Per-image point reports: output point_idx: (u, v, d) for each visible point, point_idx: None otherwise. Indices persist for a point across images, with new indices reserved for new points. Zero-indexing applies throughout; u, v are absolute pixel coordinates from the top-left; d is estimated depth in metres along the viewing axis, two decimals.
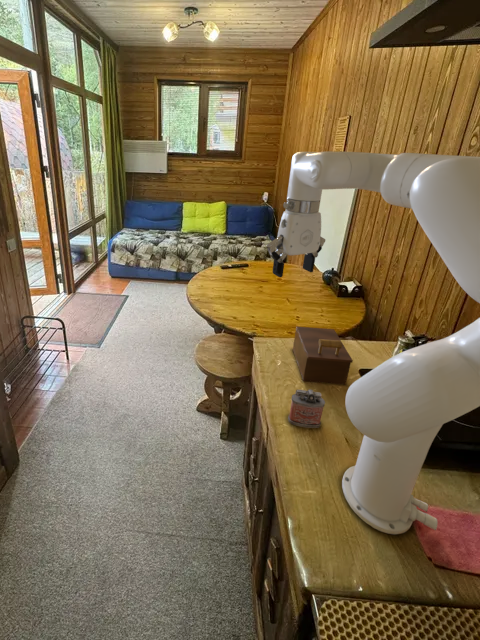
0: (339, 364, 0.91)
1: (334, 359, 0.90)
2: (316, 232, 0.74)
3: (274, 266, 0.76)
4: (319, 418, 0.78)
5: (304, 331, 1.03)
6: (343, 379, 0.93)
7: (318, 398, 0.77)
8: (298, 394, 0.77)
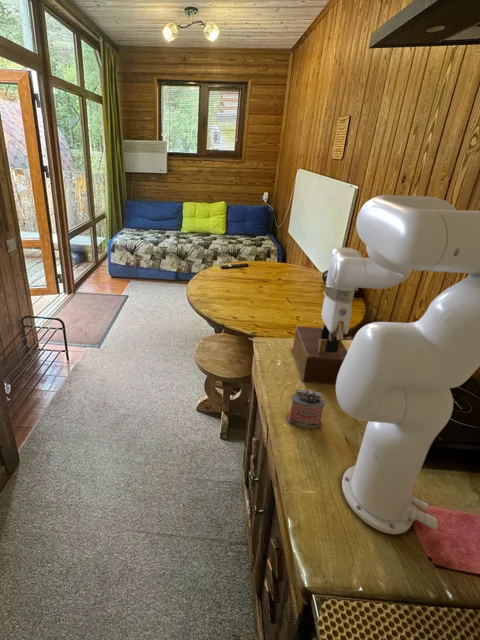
0: (339, 364, 0.91)
1: (334, 359, 0.90)
2: None
3: (332, 346, 0.88)
4: (319, 418, 0.78)
5: (304, 331, 1.03)
6: None
7: (318, 398, 0.77)
8: (298, 394, 0.77)
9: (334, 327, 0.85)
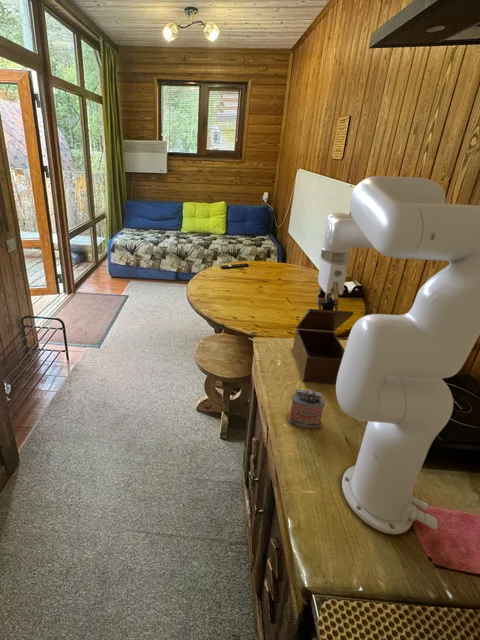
0: (339, 364, 0.91)
1: (335, 311, 0.91)
2: None
3: (328, 308, 0.93)
4: (319, 418, 0.78)
5: None
6: None
7: (318, 398, 0.77)
8: (298, 394, 0.77)
9: (329, 288, 0.90)
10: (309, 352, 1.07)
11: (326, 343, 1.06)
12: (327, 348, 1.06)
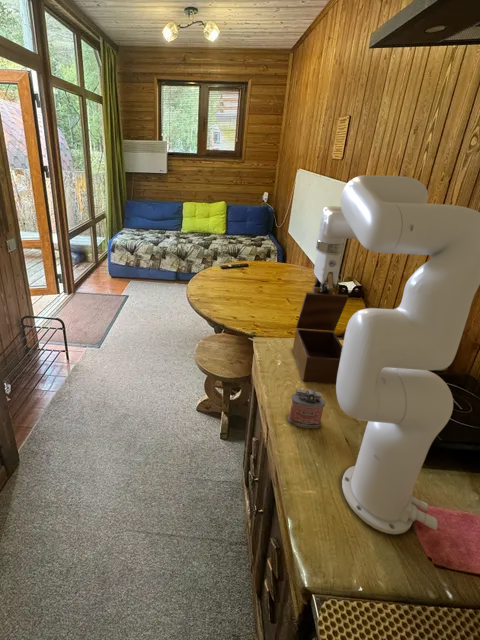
0: None
1: (331, 294, 0.95)
2: None
3: None
4: (319, 418, 0.78)
5: None
6: None
7: (318, 398, 0.77)
8: (298, 394, 0.77)
9: (325, 278, 0.94)
10: (309, 352, 1.07)
11: (326, 343, 1.06)
12: (327, 348, 1.06)
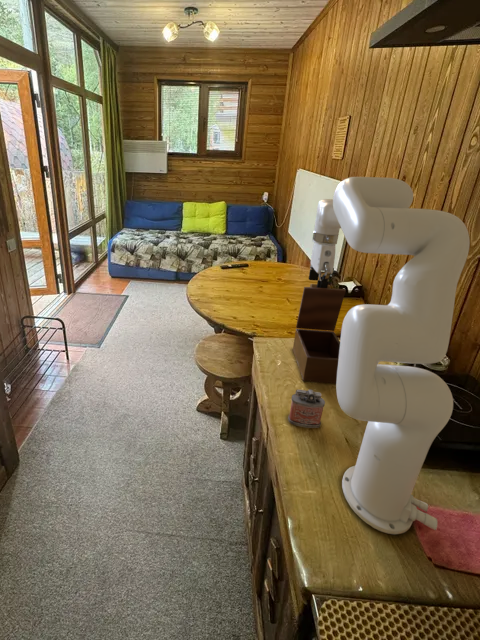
0: None
1: (328, 288, 0.98)
2: None
3: (322, 286, 1.00)
4: (319, 418, 0.78)
5: None
6: None
7: (318, 398, 0.77)
8: (298, 394, 0.77)
9: (321, 267, 0.98)
10: (309, 352, 1.07)
11: (326, 343, 1.06)
12: (327, 348, 1.06)
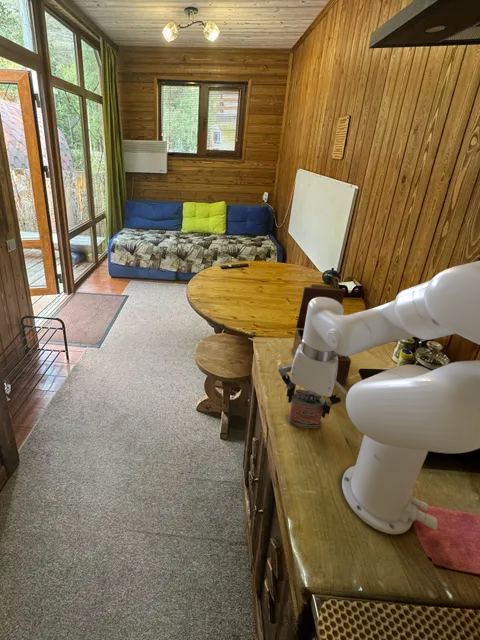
0: (339, 364, 0.91)
1: (328, 288, 0.98)
2: None
3: (329, 408, 0.75)
4: (319, 418, 0.78)
5: None
6: (343, 379, 0.93)
7: (318, 398, 0.77)
8: (298, 394, 0.77)
9: None
10: None
11: None
12: None
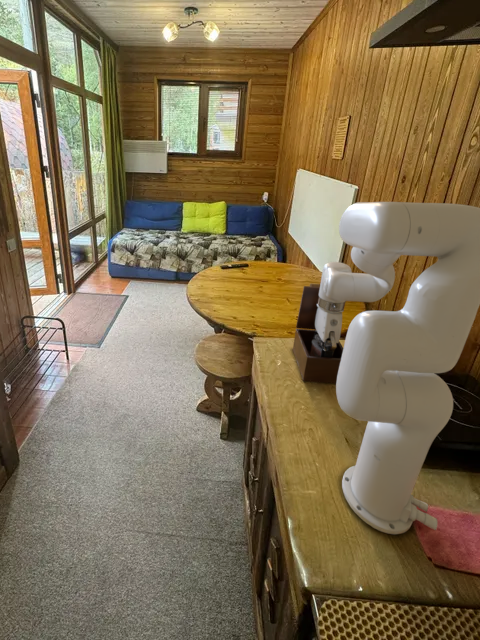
0: (339, 364, 0.91)
1: None
2: None
3: (326, 356, 0.92)
4: None
5: None
6: None
7: None
8: (315, 337, 0.99)
9: (326, 336, 0.90)
10: (309, 352, 1.07)
11: None
12: None
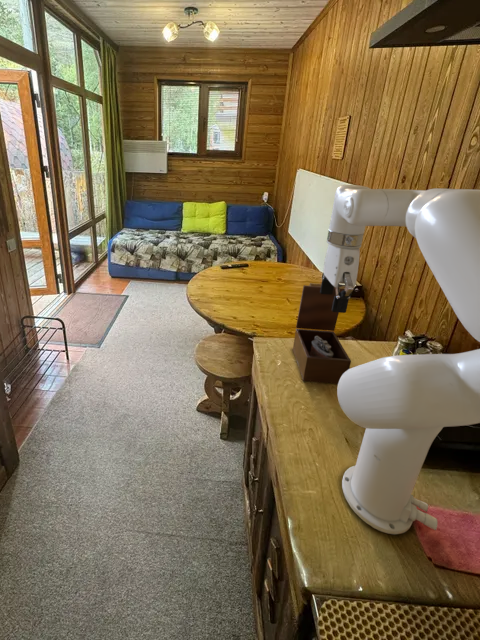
0: (339, 364, 0.91)
1: None
2: None
3: (340, 304, 0.73)
4: None
5: None
6: None
7: (326, 348, 0.95)
8: (315, 338, 0.99)
9: (339, 279, 0.71)
10: (309, 352, 1.07)
11: None
12: None
